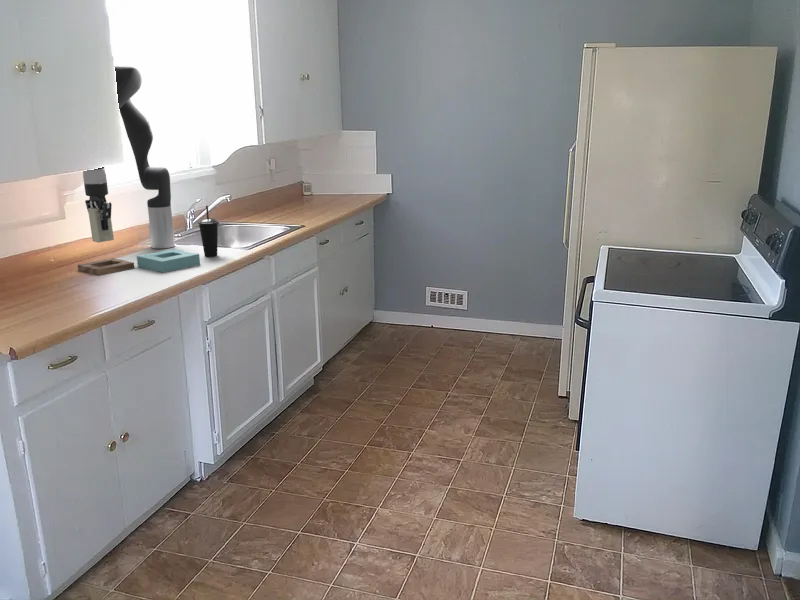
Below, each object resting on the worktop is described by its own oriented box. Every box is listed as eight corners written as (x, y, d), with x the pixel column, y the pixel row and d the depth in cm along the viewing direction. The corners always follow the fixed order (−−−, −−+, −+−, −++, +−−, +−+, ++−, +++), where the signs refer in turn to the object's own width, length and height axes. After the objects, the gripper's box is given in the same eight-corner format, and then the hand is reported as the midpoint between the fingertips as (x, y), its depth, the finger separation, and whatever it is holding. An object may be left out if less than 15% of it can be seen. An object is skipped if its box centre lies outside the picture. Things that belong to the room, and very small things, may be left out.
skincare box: (108, 238, 258) (103, 206, 254) (114, 240, 255) (110, 207, 252) (91, 241, 253) (87, 208, 250) (98, 243, 250) (93, 209, 247)
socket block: (137, 266, 260) (136, 256, 259) (174, 259, 272) (173, 249, 271) (163, 272, 250) (162, 261, 249) (200, 264, 263) (199, 253, 262)
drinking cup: (201, 258, 273) (196, 207, 267) (201, 254, 280) (196, 204, 274) (221, 257, 274) (217, 206, 269) (220, 253, 282) (216, 203, 276)
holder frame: (78, 270, 255) (77, 264, 255) (113, 263, 266) (113, 258, 266) (98, 275, 247) (98, 269, 247) (134, 268, 258) (133, 262, 257)
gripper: (74, 181, 249) (81, 228, 254) (96, 184, 241) (102, 233, 246) (94, 179, 255) (100, 225, 260) (116, 182, 247) (122, 229, 251)
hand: (101, 229), depth 253 cm, fingers closed on skincare box, 4 cm apart
